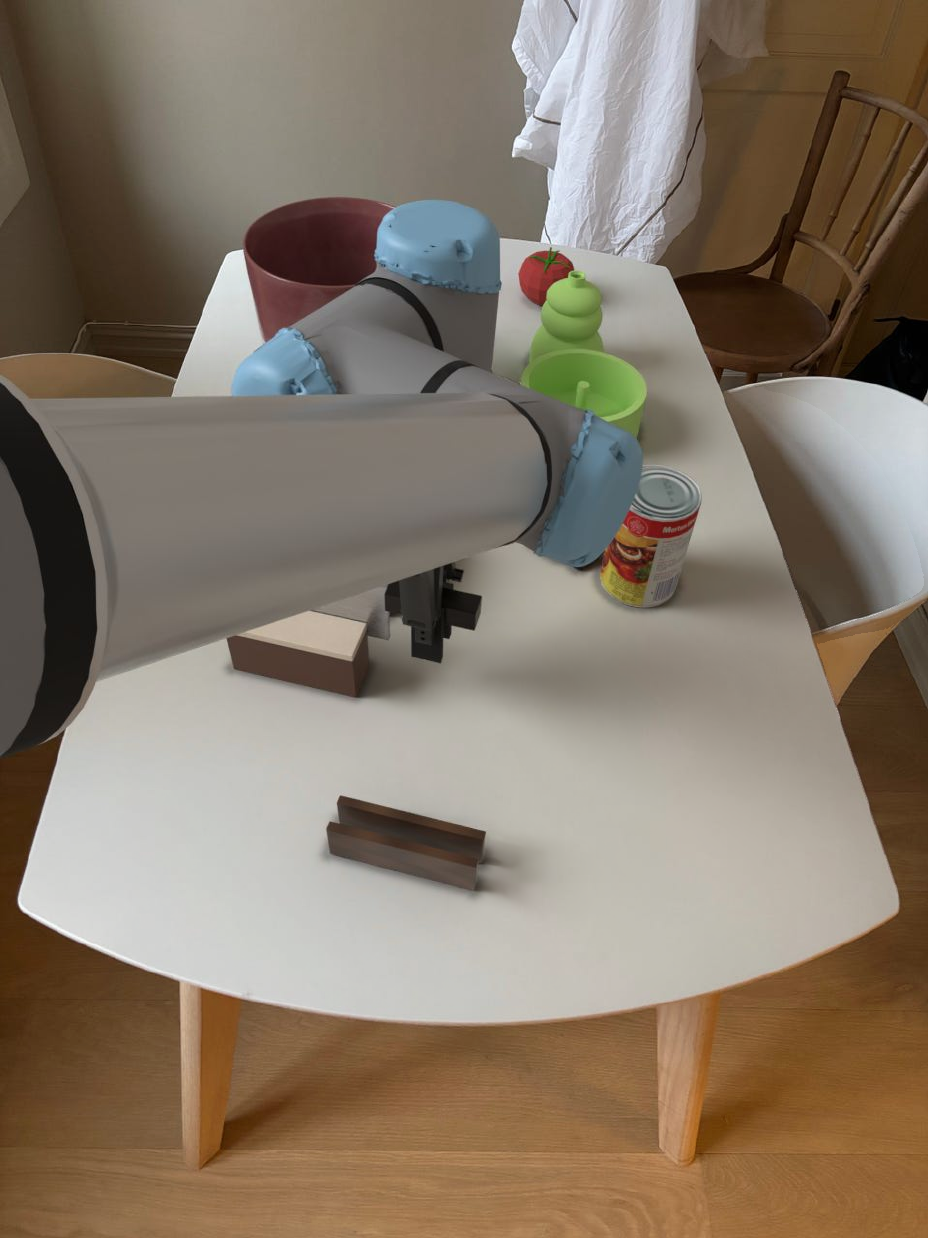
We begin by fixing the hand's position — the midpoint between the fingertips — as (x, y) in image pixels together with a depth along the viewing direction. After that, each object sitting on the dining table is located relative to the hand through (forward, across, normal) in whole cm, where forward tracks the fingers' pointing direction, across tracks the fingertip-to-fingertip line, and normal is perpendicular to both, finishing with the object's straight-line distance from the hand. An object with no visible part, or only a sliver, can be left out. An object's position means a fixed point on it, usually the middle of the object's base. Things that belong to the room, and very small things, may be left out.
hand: (431, 644), depth 84 cm
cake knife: (0, 0, +8) cm, 8 cm away
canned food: (+5, +18, -17) cm, 25 cm away
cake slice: (+5, -2, +12) cm, 13 cm away
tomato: (+4, +69, +3) cm, 69 cm away
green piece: (+4, +47, -5) cm, 47 cm away
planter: (+5, +37, +21) cm, 43 cm away
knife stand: (+5, -18, -3) cm, 19 cm away
